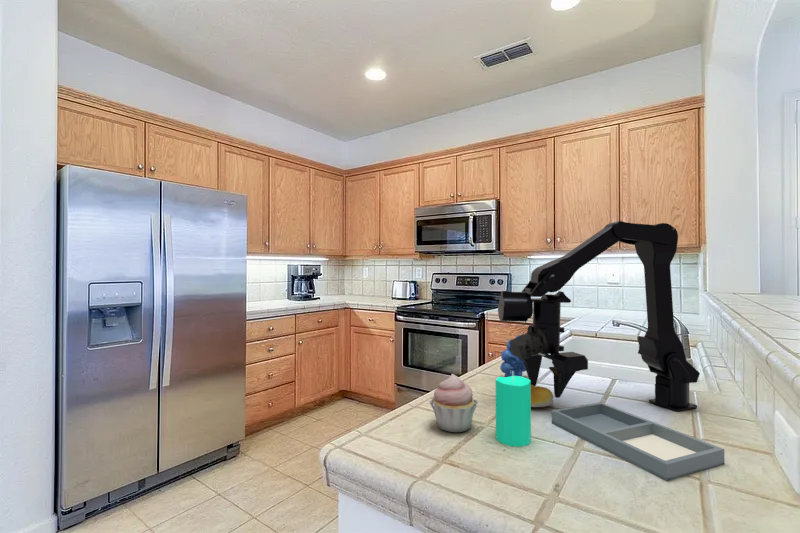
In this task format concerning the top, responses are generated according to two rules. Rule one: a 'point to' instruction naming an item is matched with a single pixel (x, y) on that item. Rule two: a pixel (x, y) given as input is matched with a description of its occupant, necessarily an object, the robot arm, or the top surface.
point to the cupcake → (453, 405)
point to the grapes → (511, 363)
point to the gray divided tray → (639, 440)
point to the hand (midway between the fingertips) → (544, 391)
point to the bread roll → (540, 396)
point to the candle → (513, 410)
